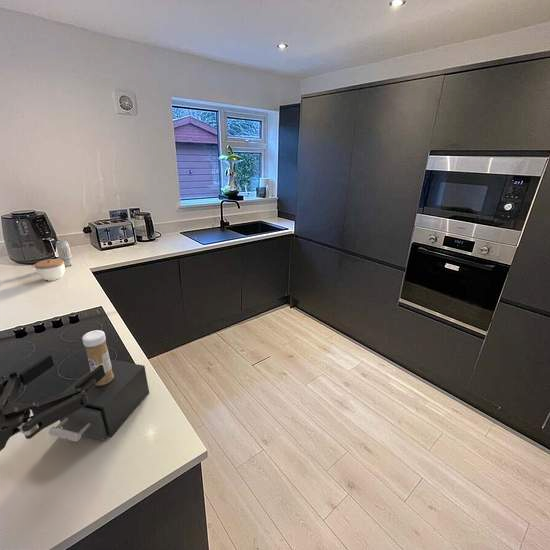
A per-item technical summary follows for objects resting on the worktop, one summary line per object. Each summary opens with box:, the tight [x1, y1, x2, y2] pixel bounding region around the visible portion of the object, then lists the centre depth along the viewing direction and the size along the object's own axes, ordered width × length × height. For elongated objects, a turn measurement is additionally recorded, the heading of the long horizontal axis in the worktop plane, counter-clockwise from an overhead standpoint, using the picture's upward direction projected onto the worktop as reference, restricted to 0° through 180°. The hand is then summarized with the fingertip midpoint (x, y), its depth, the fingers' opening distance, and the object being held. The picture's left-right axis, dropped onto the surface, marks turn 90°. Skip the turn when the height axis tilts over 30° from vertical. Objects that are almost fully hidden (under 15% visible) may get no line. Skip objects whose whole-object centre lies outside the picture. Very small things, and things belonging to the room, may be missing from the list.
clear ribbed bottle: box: [55, 239, 74, 267], centre depth 172 cm, size 6×6×15 cm
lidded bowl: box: [33, 258, 66, 282], centre depth 154 cm, size 13×13×11 cm
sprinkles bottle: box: [81, 329, 114, 386], centre depth 70 cm, size 5×5×13 cm
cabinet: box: [60, 358, 150, 438], centre depth 74 cm, size 15×13×10 cm
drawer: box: [48, 406, 107, 442], centre depth 70 cm, size 18×11×8 cm, turn 167°
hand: (76, 364), depth 64 cm, fingers open, 13 cm apart
